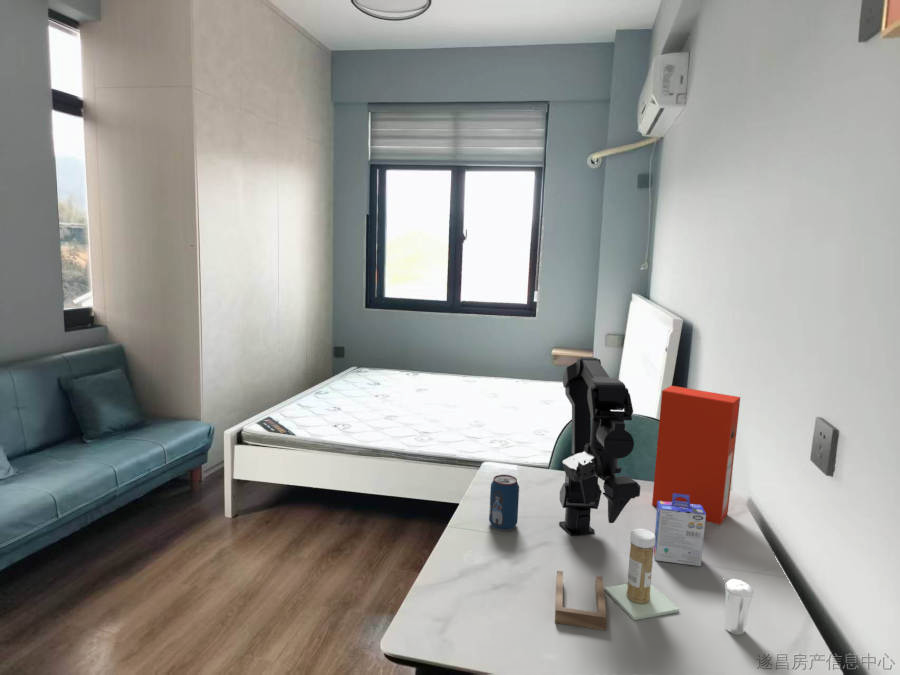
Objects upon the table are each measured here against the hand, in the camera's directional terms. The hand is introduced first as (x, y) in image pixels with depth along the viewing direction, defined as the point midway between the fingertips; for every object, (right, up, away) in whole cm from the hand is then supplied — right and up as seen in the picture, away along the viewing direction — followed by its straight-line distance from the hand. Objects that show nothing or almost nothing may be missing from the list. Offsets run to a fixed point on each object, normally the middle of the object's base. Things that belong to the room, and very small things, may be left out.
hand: (598, 513), depth 124 cm
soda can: (-18, -10, +21) cm, 30 cm away
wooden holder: (-6, -15, -10) cm, 19 cm away
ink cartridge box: (+19, -13, +9) cm, 25 cm away
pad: (+6, -15, -8) cm, 18 cm away
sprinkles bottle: (+5, -14, -8) cm, 17 cm away
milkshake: (+20, -17, -16) cm, 31 cm away
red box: (+32, -9, +33) cm, 48 cm away
